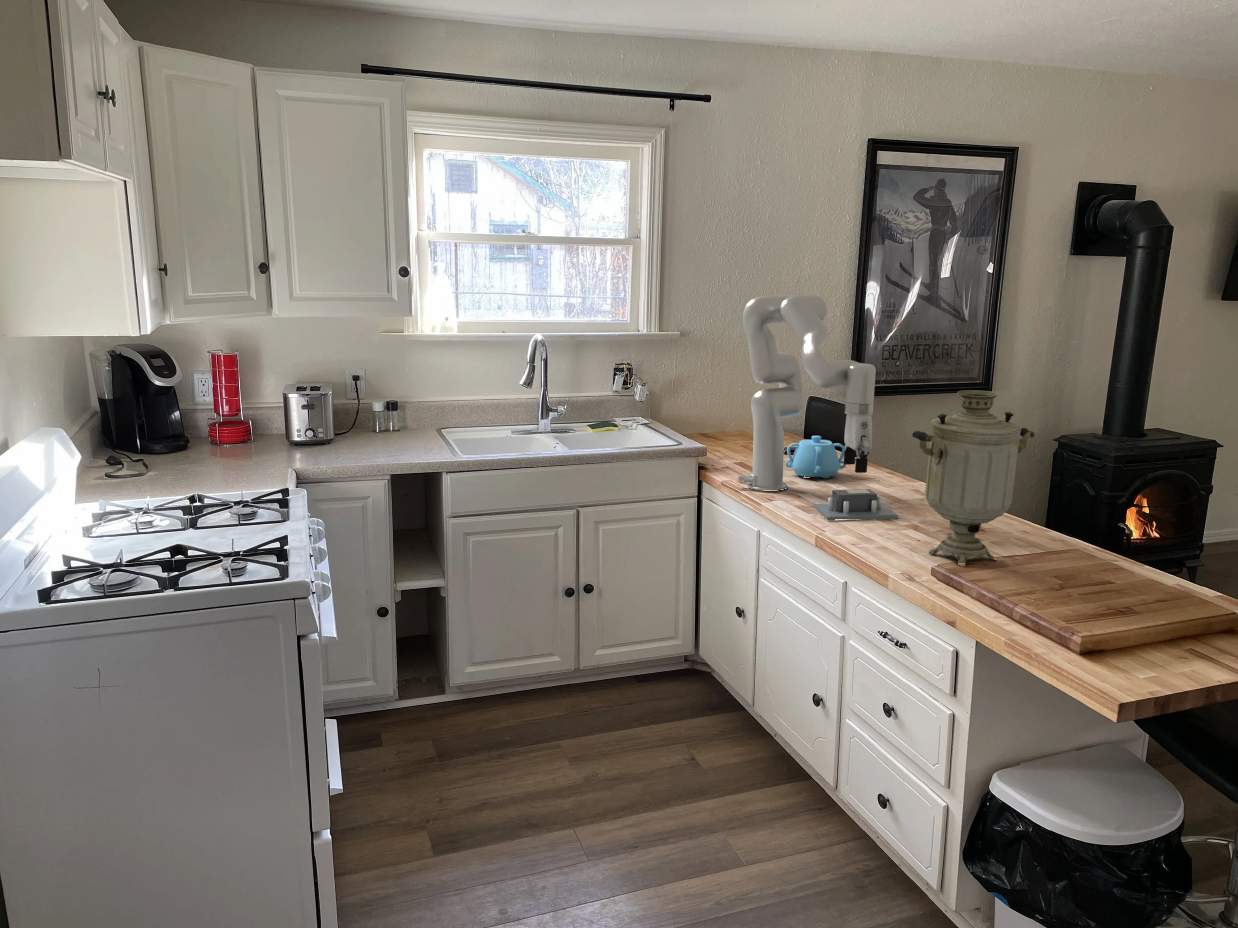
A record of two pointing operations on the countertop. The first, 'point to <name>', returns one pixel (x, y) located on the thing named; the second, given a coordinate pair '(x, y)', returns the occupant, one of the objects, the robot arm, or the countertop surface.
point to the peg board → (876, 512)
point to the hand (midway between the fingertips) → (854, 468)
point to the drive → (853, 499)
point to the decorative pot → (815, 458)
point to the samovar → (971, 470)
